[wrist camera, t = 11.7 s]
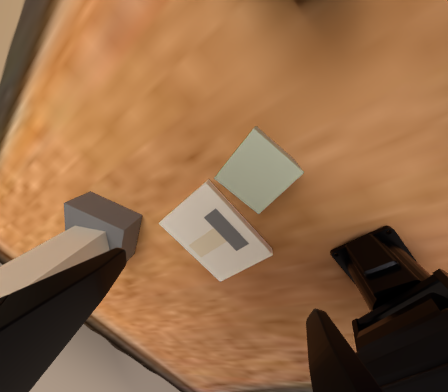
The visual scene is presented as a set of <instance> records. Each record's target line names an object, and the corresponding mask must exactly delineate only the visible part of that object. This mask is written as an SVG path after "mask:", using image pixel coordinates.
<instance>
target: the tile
mask: <svg viewBox="0 0 448 392" xmlns="http://www.w3.org/2000/svg"><path fill="white" fill-rule="evenodd" d="M159 224H160V225H161V226H162V227H163V228H164V229H165V230H166V231H167V232H168V233H169V234H170V235H171V236H172V237H173V238H174V239H176V240H177V241H178V242H179V243H180V244H181V245H182V246H183V247H184V248H185V249H186V250H187V251H188V252H189V253H190V254H191V255H192V256H193V257H194V258H196V259H197V260H198V261H199V262H200V263H201V264H202V265H203V266H204V267H205V268H206V269H207V270H208V271H209V272H210V273H211V274H212V275H213V276H215V277H216V278H217V279H218V280H219V281H220V282H221V281H223V280H225V279H227V278H229V277H231V276H233V275H235V274H237V273H239V272H241V271H243V270H245V269H247V268H249V267H251V266H253V265H255V264H257V263H259V262H260V261H262V260H264V259H266V258H268V257H270V256H272V255H273V250H272V248H271V247H270V245H269V244H268V243H267V242H266V241H265V240H264V239H263V238H262V237H261V236H260V235H259V233H258V232H257V231H256V230H255V229H254V228H253V227H252V226H251V225H250V224H249V223H248V221H247V220H246V219H245V218H244V217H243V216H242V215H241V214H240V213H239V212H238V211H237V209H236V208H235V207H234V206H233V205H232V204H231V203H230V202H229V201H228V200H227V199H226V197H225V196H224V195H223V194H222V193H221V192H220V191H219V190H218V189H217V188H216V187H215V185H214V184H213V183H212V182H211V181H210V180H209V179H208V180H207V181H206V182H204V183H203V184H202V185H201V186H200V187H199V188H198V189H196V190H195V191H194V192H193V193H192V194H191V195H190V196H188V197H187V198H186V199H185V200H184V201H183V202H182V203H180V204H179V205H178V206H177V207H176V208H175V209H174V210H172V211H171V212H170V213H169V214H168V215H167V216H165V217H164V218H163V219H162V220H161V221H160V222H159Z"/></svg>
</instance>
